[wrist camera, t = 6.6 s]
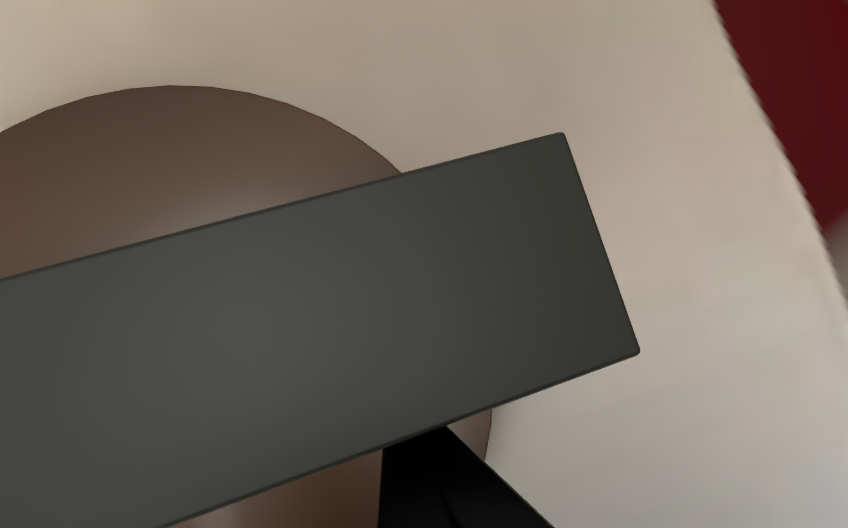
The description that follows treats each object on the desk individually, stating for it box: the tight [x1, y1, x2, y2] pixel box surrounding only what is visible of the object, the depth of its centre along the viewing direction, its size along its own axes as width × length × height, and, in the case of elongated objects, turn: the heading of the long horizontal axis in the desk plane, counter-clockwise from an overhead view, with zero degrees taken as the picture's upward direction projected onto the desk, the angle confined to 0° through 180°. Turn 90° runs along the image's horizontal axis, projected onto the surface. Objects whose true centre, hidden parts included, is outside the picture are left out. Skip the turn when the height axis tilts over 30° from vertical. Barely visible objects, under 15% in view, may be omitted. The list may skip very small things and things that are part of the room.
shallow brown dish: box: [0, 85, 492, 528], centre depth 14 cm, size 13×13×1 cm
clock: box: [0, 132, 640, 528], centre depth 10 cm, size 3×12×7 cm, turn 108°
